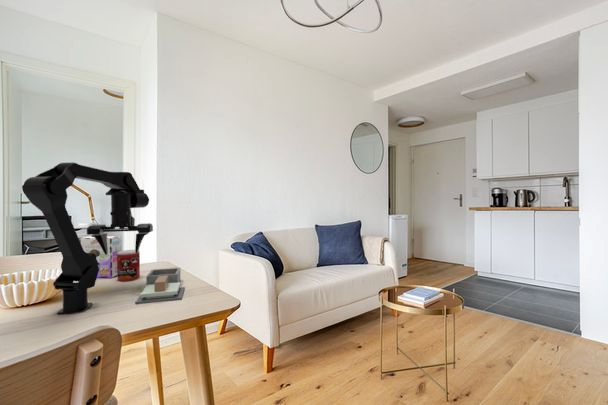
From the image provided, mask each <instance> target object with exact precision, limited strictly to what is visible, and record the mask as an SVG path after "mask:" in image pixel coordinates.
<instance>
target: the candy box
mask: <svg viewBox="0 0 608 405" xmlns="http://www.w3.org/2000/svg"><path fill="white" fill-rule="evenodd" d="M79 241H80V243H81V245H82V248H83V250H84V251H85V252H86V253H94V254H95V255H96V259H97V261H98V263H99V264H100V265H98V267H99V272H98V275H97V279H98V278H99V279H112V278H115V277H117V252H119V251H122V250H121V236H120V235H119V236H118V235H115V236H114V235H113V236H112V235H110V236H109V235H107V248H108V254H107V255H105V253H104V251H103V250H102V248H101V246H100V244H99V243H98V241H97V240H96V238H95V237H92V235H90V236H85V237H79Z"/></svg>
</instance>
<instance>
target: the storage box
mask: <svg viewBox="0 0 608 405" xmlns="http://www.w3.org/2000/svg"><path fill="white" fill-rule="evenodd" d="M159 276H168V282H169V283H177V282H180V283H181V267H174V268H173V267H171V268H170V267H169V268H157V269H156V268H155V269H151V270H150V272H149V273H148V274H147V275H146V277H145V278H146V279H145V281H146V286H147V285H153V284H154V282H155V281H156V280H157V278H158V277H159ZM146 286H145V287H146Z"/></svg>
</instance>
